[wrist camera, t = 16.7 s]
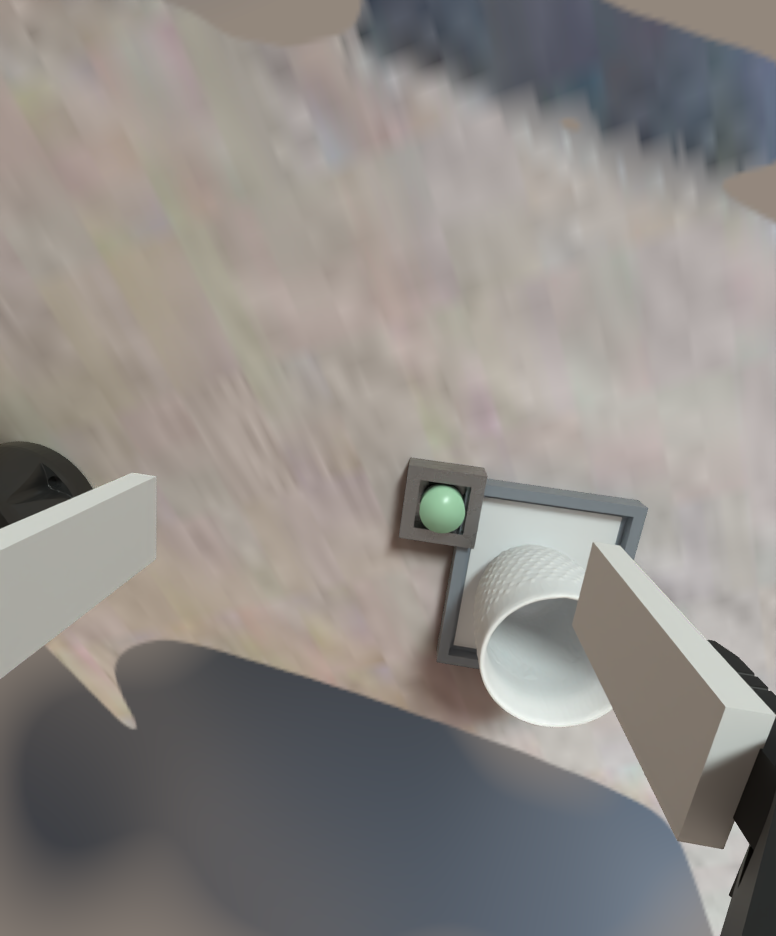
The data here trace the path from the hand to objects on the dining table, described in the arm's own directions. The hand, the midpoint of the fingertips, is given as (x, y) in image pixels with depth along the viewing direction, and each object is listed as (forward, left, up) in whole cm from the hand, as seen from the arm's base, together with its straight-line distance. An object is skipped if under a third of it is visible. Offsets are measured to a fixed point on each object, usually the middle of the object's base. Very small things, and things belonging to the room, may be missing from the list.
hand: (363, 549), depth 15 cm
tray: (+14, -15, -32) cm, 38 cm away
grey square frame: (+4, -8, -32) cm, 33 cm away
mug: (+14, -15, -31) cm, 37 cm away
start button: (+4, -8, -30) cm, 31 cm away
